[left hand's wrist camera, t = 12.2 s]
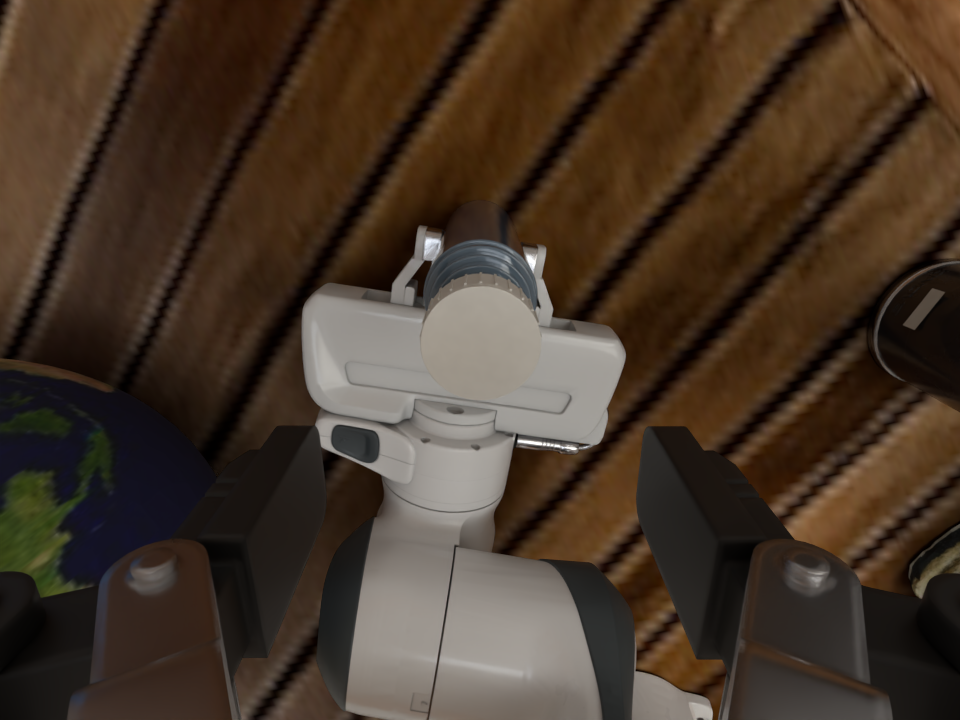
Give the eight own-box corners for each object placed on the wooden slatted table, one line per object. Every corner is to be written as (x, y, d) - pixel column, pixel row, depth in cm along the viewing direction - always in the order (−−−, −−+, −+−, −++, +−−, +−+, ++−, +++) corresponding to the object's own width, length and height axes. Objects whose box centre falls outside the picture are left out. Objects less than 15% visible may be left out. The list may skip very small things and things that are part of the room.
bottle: (444, 199, 39) (403, 268, 18) (515, 200, 39) (558, 268, 18) (446, 269, 41) (410, 408, 20) (513, 270, 41) (551, 408, 20)
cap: (421, 271, 20) (415, 284, 18) (539, 271, 20) (545, 284, 18) (425, 380, 21) (420, 401, 19) (535, 380, 21) (540, 402, 19)
